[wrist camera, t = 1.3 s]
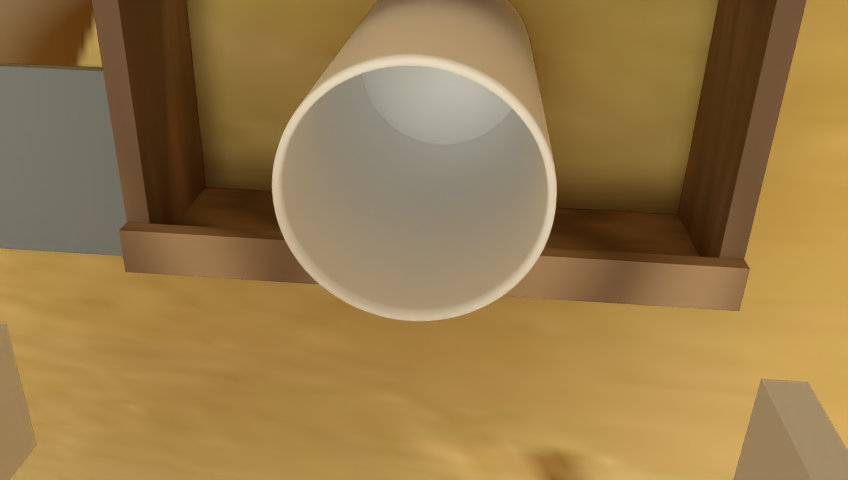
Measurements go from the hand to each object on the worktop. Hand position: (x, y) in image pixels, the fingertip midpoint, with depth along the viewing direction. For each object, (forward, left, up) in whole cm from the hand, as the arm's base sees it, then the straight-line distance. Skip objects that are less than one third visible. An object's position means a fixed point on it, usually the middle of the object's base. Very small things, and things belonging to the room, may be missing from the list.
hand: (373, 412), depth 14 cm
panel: (-19, -6, -25) cm, 32 cm away
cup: (0, 0, -26) cm, 26 cm away
